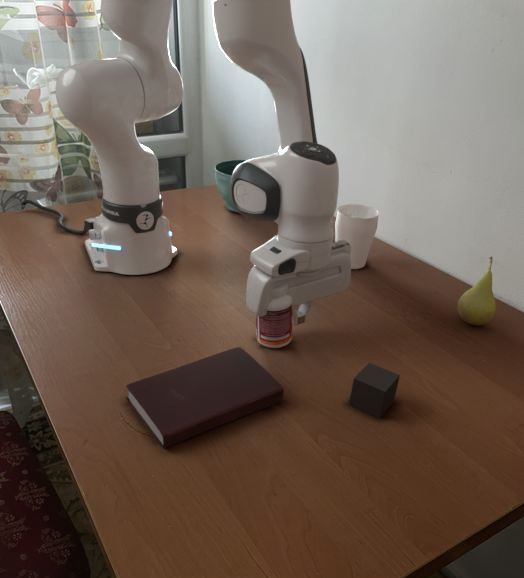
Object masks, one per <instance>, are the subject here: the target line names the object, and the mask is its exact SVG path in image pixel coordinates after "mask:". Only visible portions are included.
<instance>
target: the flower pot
mask: <svg viewBox="0 0 524 578" xmlns="http://www.w3.org/2000/svg"><path fill="white" fill-rule="evenodd" d="M247 160H248V159H229V160H222V161H219V162H217V163H216V164H215V165H214V167H213V168H214V174H215V183H216V188H217V190H218V191H217V192H218V193H219V195H220V197H221V198H222V200H223V201H224V202H225V206H226V209H228V210H229V211H231V212H234V213H237V214H238V213H239V214H241V213H240V212H239V211H238V210H237V209H236V207H235V206H234V204H233V201H232V198H231V194H230V180H231V176H232V174H233V171H234V169H235V168H236V167H237V166H238V165H239V164H241V163H243V162H245V161H247Z"/></svg>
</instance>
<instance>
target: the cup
mask: <svg viewBox="0 0 524 578" xmlns="http://www.w3.org/2000/svg"><path fill="white" fill-rule="evenodd" d="M336 211H337V212H336V217H335V222H334V229H335V230H334V231H335V232H334V236H335V237H334V240H335V241H334V242H337V241H339V240H345V241H346V242H348V243H349V244H350V246H351V252H350V259H351V270H358V269H359V270H360V269H362V268H364V267H365V266H366V263H367V260H368V257H369V254H370V252H371V249H372V245H373V242H374V239H375V236H376V233H377V229H378V222H379V215H380V214H379V210H377V209H375V208H373V207H371V206H368V205H364V204H354V203H353V204H350V203H349V204H343V205H340V206H339V207H338V208H337V210H336Z"/></svg>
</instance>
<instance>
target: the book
mask: <svg viewBox="0 0 524 578" xmlns="http://www.w3.org/2000/svg"><path fill="white" fill-rule="evenodd" d="M125 388H126V389H127V390H128V395H127V396H125V399H126V400H127V402H128V403H129V405H130V406H131V408H132V409H133V411H134V412H135V413H136V415H137V416H138V418H139V419H140V421H142V423H143V424H144V425H145V427H146V428H147V430H148V431H149V432H150V433H151V435H152V436H153V437H154V439H155V440H156V441H157V443H158V444H159V445H160V446H161V447H162V448H168V447H170V446H172V445H175V444H177V443H180V442H182V441H185V440H188V439H190V438H192V437H195V436H197V435H199V434H202V433H204V432H207V431H209V430H212V429H215V428H217V427H219V426H222V425H224V424H227V423H231V422H232V421H234V420H237V419H240V418H242V417H245V416H248V415H250V414H253V413H256V412H258V411H261V410H263V409H266V408H268V407H271V406H273V405H276V404H279V403H281V402H282V401H283V399H284V394H285V389H284V387H283V386H282V384H281V383H280V382H279V381H278V380H277V379H276V378H274V376H273V375H272V374H271V373H270V372H269V371H268V370H266V368H265V367H263V365H262V364H260V363H259V361H257V360H256V359H255V358H254V357H253V356H252V355H251V354H249V353H248V352H247V351H246V350H245V349H244V348H242V347H240V346H237V347H233V348H231V349H227V350H224V351H221V352H218V353H215V354H212V355H209V356H207V357H204V358H201V359H198V360H195V361H193V362H189V363H186V364H184V365H181V366H178V367H174V368H172V369H170V370H166V371H163V372H160V373H157V374H153V375H151V376H148V377H144V378H142V379H139V380H137V381H133V382H131V383H128V384H126V386H125Z"/></svg>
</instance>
